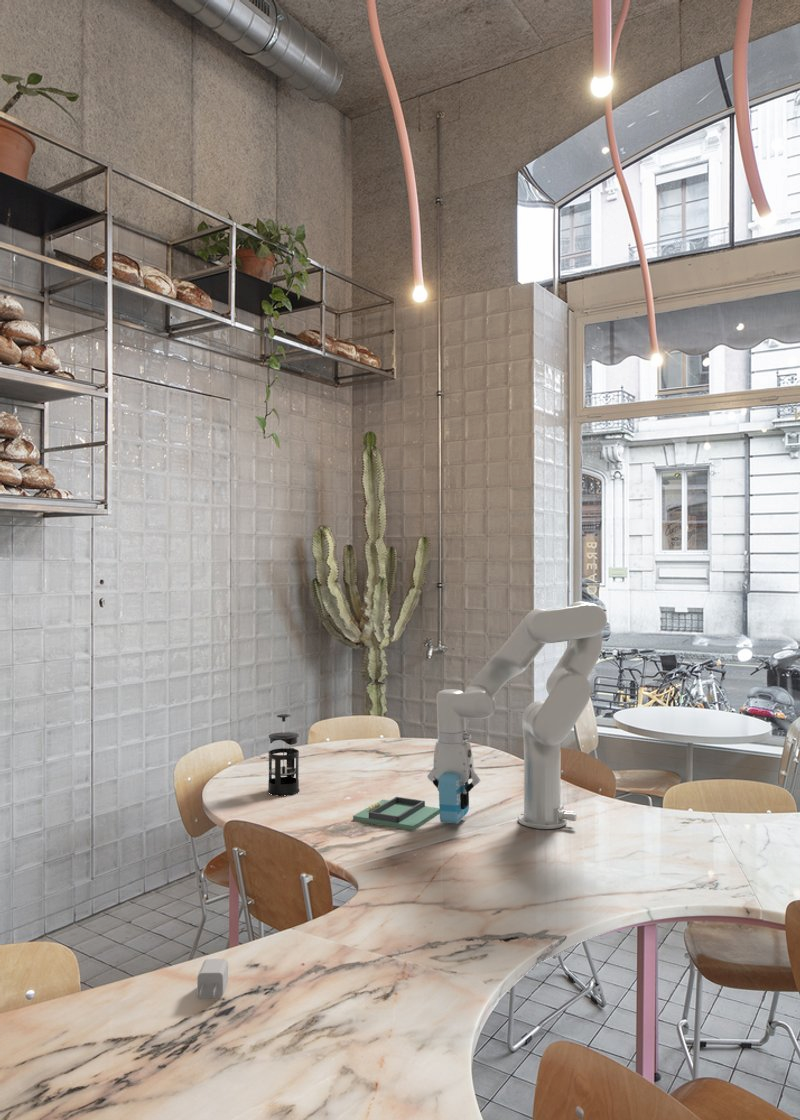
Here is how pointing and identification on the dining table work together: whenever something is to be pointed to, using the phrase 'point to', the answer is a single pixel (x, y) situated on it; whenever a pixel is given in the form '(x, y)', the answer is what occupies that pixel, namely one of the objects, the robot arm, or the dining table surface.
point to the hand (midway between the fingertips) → (454, 805)
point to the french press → (279, 783)
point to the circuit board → (398, 813)
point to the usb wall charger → (212, 978)
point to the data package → (450, 799)
